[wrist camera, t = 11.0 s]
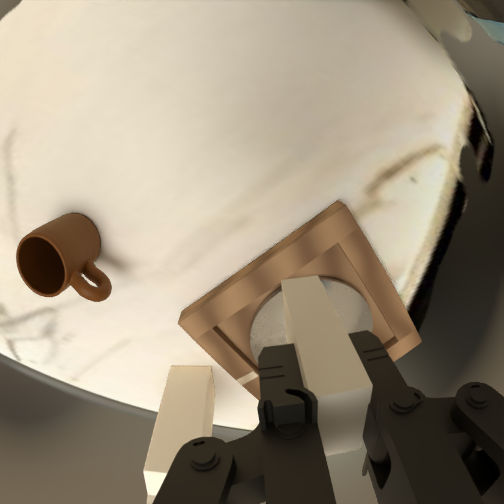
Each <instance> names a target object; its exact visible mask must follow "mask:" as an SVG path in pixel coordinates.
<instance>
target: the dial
mask: <svg viewBox="0 0 504 504" xmlns="http://www.w3.org/2000/svg"><path fill="white" fill-rule="evenodd" d="M318 277H319V279H320V281H321V283H322V285H323V286H324V288H325V290H326V292H327V294H328V296H329V298H330V300H331V302H332V304H333V306H334V308H335V310H336V312H337V314H338V316H339V318H340V320H341V322H342V324H343V326H344V328H345V330H346V332H347V334H348V333H354V332H360V331H365V330H368V331H370V332H371V333H372V329H373V320H372V314H371V311H370V308H369V306H368V304H367V302H366V301H365V300H364V298H363V297H362V296H361V294H360V293H359V292H358V291H357V290H356V289H355V288H354V287H352V286H351V285H349V284H348V283H346V282H344V281H341V280H338V279H335V278H330V277H320V276H318ZM284 344H288V343H287V338H286V330H285V318H284V307H283V295H282V287H280V288H278V289H277V290H275V291H274V292H273V293H271V294H270V295H269V296H268V297H267V298H266V299H265V300H264V301H263V302H262V304H261V305H260V306H259V308H258V309H257V311H256V313H255V315H254V317H253V320H252V323H251V327H250V346H251V351H252V354H253V356H254V359H255V360H256V362H257V363H258V356H259V354H260V353H261V351H262V349H263V347H268V346H276V345H284Z"/></svg>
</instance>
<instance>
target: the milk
mask: <svg viewBox="0 0 504 504" xmlns="http://www.w3.org/2000/svg"><path fill="white" fill-rule="evenodd" d="M214 403H215V389H214V383H213V377H212V371H211V366H171V368H170V372H169V375H168V379H167V383H166V386H165V390H164V393H163V397H162V401H161V404H160V408H159V412H158V415H157V419H156V423H155V427H154V431H153V434H152V439H151V442H150V446H149V450H148V454H147V458H146V462H145V466H144V471H143V472H144V477H145V482H146V487H147V492H148V498H147V502H146V503H147V504H152V503H153V501H154V499H155V497H156V495H157V493H158V491H159V489H160V487H161V485H162V483H163V481H164V479H165V477H166V475H167V473H168V471H169V468H170V466H171V464H172V462H173V460H174V458H175V456H176V454H177V452H178V451H179V450H180V448H181V447H182V446H183V445H184V444H185V443H187V442H189V441H190V440H192V439H196V438H199V437H211V436H212V425H213V414H214Z"/></svg>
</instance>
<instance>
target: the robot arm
mask: <svg viewBox="0 0 504 504" xmlns="http://www.w3.org/2000/svg"><path fill="white" fill-rule="evenodd" d="M456 1H457V2H458V3H459V4H460V5H461V6H462V7H463V9H464V10H465V12H466V13H467V15H468V16H470V17H471V18H473V19H474V20H475V21H476V22H477V23H478V24H479V25H480V26H481V27H482V28H483V29H484V31H485V32H486V33H487V34H488V35H489V36H490V37H491V38H492V39H493V40H495V41H496V42H498V43H500V44H503V45H504V0H456ZM281 284H282V295H283V307H284V318H285V330H286V338H287V343H288V344H284V345H276V346H268V347H263V349H262V351H261V353H260V354H259V356H258V367H259V382H260V397H261V399H260V400H259V403H258V408H257V410H258V415H259V421H260V422H259V425H258V426H257V427H256V428H255V429H254V431H252V432H251V433H249V434H248V435H246V436H244V437H242V438H239V439H236V440H233V441H230V442H227V443H225V442H224V441H223V440H221V439H218V438H215V437H199V438H196V439H192V440H190V441H189V442H187V443H185V444H184V445H183V446H182V447H181V448H180V450H179V451H178V452H177V454H176V456H175V458H174V460H173V462H172V464H171V466H170V468H169V471H168V473H167V475H166V477H165V479H164V481H163V483H162V485H161V487H160V489H159V491H158V493H157V495H156V497H155V499H154V501H153V503H152V504H260V503H262V502H265V501H266V504H336V500H335V496H334V492H333V487H332V483H331V478H330V474H329V470H328V466H327V462H326V457H325V456H329V455H334V454H339V453H344V452H349V451H353V450H358V449H361V446H362V441H363V440H364V443H365V446H366V448H367V454H366V458H365V462H364V465H363V469H362V475H363V476H365V475H366V474H367V470H368V472H369V475H370V478H371V481H372V484H373V488H374V490H375V494H376V497H377V501H378V504H504V397H503V396H502V395H501V394H499V393H498V392H497V391H496V390H495V389H493V388H492V387H490V386H489V385H487V384H485V383H480V382H470V383H467V384H465V385H463V386H462V387H461V388H460V389H459V390H458V391H457V393H456V396H455V397H449V398H427V397H426V396H425V395H424V394H423V393H422V392H421V391H420V390H418V389H415V388H413V387H409V386H407V384H406V382H405V381H404V379H403V377H402V375H401V374H400V372H399V370H398V369H397V367H396V365H395V364H394V362H393V360H392V359H391V357H389V354H388V352H387V350H386V349H384V346H383V344H382V342H381V341H380V339H379V337H377V336H376V335H374V334H373V333H371V332H370V331H368V330H365V331H360V332H354V333H348V334H347V332H346V330H345V328H344V326H343V324H342V322H341V320H340V318H339V316H338V314H337V312H336V310H335V308H334V306H333V304H332V302H331V300H330V298H329V296H328V294H327V292H326V290H325V288H324V286H323V285H322V283H321V281H320V279H319V277H318V275H316V276H308V277H301V278H293V279H285V280H281Z"/></svg>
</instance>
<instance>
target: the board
mask: <svg viewBox="0 0 504 504" xmlns="http://www.w3.org/2000/svg"><path fill="white" fill-rule="evenodd" d="M316 275H318V276H320V277H330V278H335V279H338V280H341V281H344V282H346V283H348V284H349V285H351V286H352V287H354V288H355V289H356V290H357V291H358V292H359V293H360V294H361V296H362V297H363V298H364V300H365V301H366V302H367V304H368V306H369V308H370V311H371V314H372V320H373V329H372V333H373V334H374V335H376V336H377V337H379V339H380V341H381V342H382V344H383V346H384V349H386V350H387V352H388V354H389V357H391V359H392V360H393V362H394V361H395V360H397V359H398V358H400V357H401V356H403V355H404V354H406V353H407V352H408V351H410V350H411V349H413V348H414V347H415V346H417V345H418V344H419V343H421V342H422V341H421V339H420V337H419V334H418V332H417V330H416V328H415V326H414V324H413V322H412V320H411V318H410V316H409V314H408V313H407V311H406V309H405V307H404V305H403V303H402V301H401V299H400V297H399V295H398V293H397V292H396V290H395V288H394V286H393V284H392V282H391V281H390V279H389V277H388V275H387V273H386V272H385V270H384V268H383V266H382V264H381V263H380V261H379V259H378V257H377V256H376V254H375V252H374V251H373V249H372V247H371V245H370V244H369V242H368V240H367V239H366V237H365V235H364V234H363V232H362V230H361V229H360V227H359V226H358V224H357V222H356V221H355V219H354V217H353V216H352V214H351V213H350V211H349V210H348V208H347V206H346V205H345V204H343V203H342V202H340V201H336V202H335V203H334V204H332V205H331V206H330V207H328V208H327V209H325V210H324V211H323V212H321V213H320V214H318V215H317V216H316V217H314V218H313V219H311V220H310V221H309V222H307V223H306V224H304V225H303V226H302V227H300V228H299V229H297V230H296V231H295V232H293V233H292V234H290V235H289V236H288V237H286V238H285V239H283V240H282V241H281V242H279V243H278V244H276V245H275V246H274V247H272V248H271V249H269V250H268V251H267V252H265V253H264V254H262V255H261V256H260V257H258V258H257V259H255V260H254V261H253V262H251V263H250V264H248V265H247V266H245V267H244V268H243V269H241V270H240V271H238V272H237V273H236V274H234V275H233V276H231V277H230V278H229V279H227V280H226V281H224V282H223V283H221V284H220V285H219V286H217V287H216V288H214V289H213V290H212V291H210V292H209V293H207V294H206V295H204V296H203V297H202V298H200V299H199V300H197V301H196V302H194V303H193V304H192V305H190V306H189V307H187V308H186V309H185V310H183V311H182V312H181V315H180V318H179V321H178V324H179V325H180V326H181V327H182V328H183V329H184V330H185V331H186V332H187V333H188V334H189V336H190V337H191V338H192V339H193V340H195V341H196V342H197V343H198V344H199V345H200V346H201V347H202V348H203V349H204V350H205V351H206V352H207V353H208V354H209V355H210V356H211V357H212V358H213V359H214V360H215V361H216V362H217V363H218V364H219V365H220V366H221V367H222V368H224V369H225V370H226V371H227V372H228V373H229V374H230V375H231V376H232V377H233V378H234V379H235V380H236V381H238V382H239V383H240V384H241V385H242V386H243V387H244V388H245V389H247V390H248V391H249V392H250V393H251V394H252V395H253V396H254V397H256V398H257V399H258V400H260V399H261V397H260V382H259V367H258V363H257V362H256V360H255V359H254V356H253V354H252V351H251V346H250V327H251V323H252V320H253V317H254V315H255V313H256V311H257V309H258V308H259V306H260V305H261V304H262V302H263V301H264V300H265V299H266V298H267V297H268V296H269V295H270V294H271V293H273V292H274V291H275V290H277V289H278V288H280V287H282V284H281V280H285V279H293V278H301V277H308V276H316Z"/></svg>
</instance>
